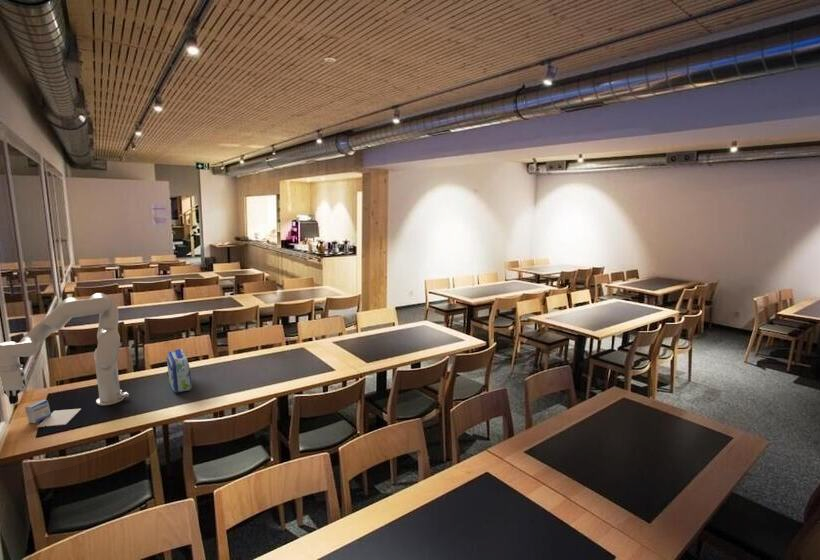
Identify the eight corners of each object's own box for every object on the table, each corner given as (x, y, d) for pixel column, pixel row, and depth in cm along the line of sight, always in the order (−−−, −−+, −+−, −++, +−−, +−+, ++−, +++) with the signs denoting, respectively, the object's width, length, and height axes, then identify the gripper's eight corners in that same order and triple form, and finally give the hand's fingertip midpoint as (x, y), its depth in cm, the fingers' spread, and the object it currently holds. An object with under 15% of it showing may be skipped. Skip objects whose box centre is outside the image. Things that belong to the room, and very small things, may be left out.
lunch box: (167, 380, 263) (164, 348, 259) (186, 376, 269) (184, 344, 265) (172, 397, 242) (169, 362, 238) (193, 392, 248) (191, 358, 244)
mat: (81, 409, 226) (81, 408, 226) (65, 424, 211) (65, 423, 211) (54, 411, 223) (54, 410, 223) (36, 427, 208) (36, 426, 208)
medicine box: (35, 423, 210) (31, 407, 209) (28, 422, 211) (24, 406, 210) (51, 415, 218) (48, 399, 216) (44, 414, 219) (40, 399, 217)
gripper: (32, 363, 212) (36, 398, 216) (-4, 365, 209) (0, 400, 212) (23, 369, 205) (27, 405, 208) (-15, 371, 201) (-10, 407, 205)
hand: (14, 402), depth 210 cm, fingers closed
